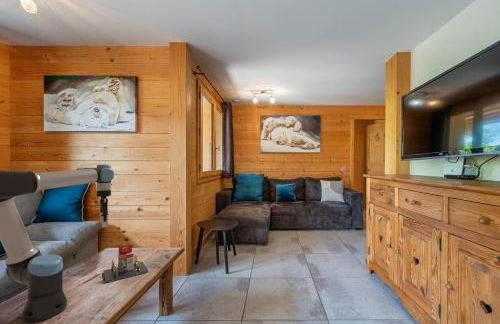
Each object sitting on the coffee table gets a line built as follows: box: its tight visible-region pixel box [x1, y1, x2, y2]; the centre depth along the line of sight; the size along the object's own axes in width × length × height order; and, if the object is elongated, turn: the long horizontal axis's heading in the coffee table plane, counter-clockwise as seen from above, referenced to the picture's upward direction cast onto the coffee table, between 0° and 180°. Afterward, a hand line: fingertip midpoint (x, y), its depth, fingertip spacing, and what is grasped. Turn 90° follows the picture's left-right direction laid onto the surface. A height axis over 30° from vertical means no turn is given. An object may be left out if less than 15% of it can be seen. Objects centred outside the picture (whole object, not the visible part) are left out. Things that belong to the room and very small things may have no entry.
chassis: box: [102, 255, 149, 284], centre depth 143 cm, size 22×16×7 cm
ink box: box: [117, 243, 135, 273], centre depth 143 cm, size 4×8×15 cm, turn 126°
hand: (103, 224), depth 143 cm, fingers open, 13 cm apart
